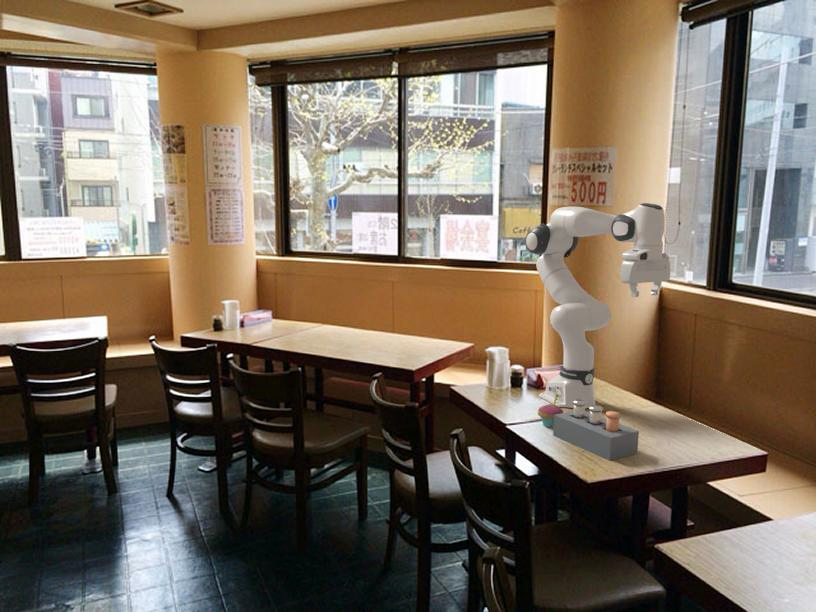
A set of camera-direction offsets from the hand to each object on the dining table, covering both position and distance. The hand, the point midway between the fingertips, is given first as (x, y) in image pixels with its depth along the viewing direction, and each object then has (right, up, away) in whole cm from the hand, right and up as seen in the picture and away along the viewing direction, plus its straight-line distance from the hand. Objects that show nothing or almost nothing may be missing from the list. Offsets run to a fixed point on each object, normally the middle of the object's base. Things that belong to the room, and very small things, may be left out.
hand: (644, 295), depth 211 cm
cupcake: (-29, -45, +9) cm, 54 cm away
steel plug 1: (-23, -42, -3) cm, 48 cm away
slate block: (-19, -47, -8) cm, 51 cm away
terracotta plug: (-16, -44, -15) cm, 49 cm away
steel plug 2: (-19, -43, -9) cm, 48 cm away
